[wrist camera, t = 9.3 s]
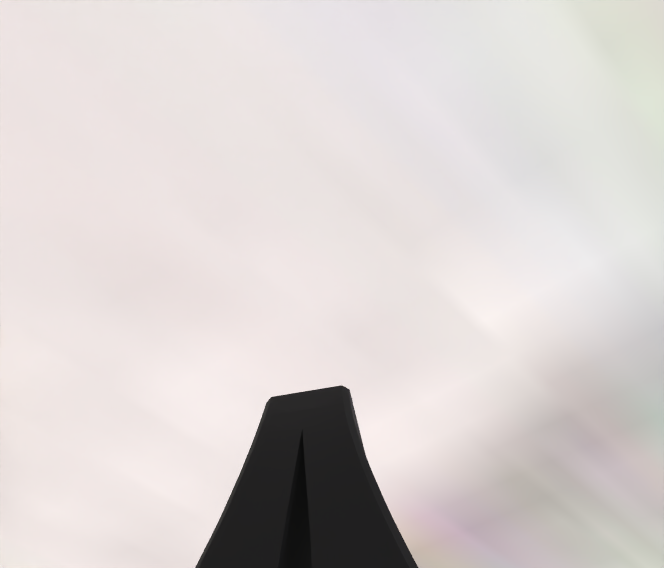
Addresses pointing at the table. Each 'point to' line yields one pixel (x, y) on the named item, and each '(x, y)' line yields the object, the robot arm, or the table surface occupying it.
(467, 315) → the table surface
